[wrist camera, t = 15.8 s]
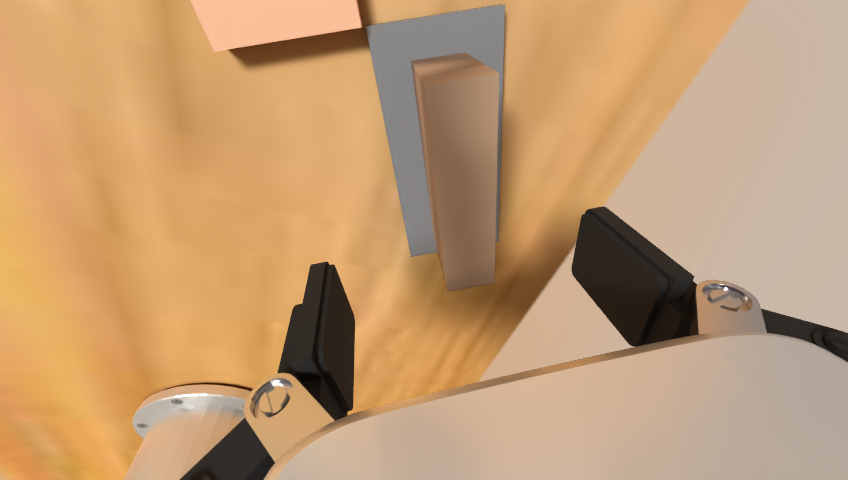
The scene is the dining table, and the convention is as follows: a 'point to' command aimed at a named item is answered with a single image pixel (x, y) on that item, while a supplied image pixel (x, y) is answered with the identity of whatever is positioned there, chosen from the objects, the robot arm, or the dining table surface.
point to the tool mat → (394, 77)
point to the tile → (272, 20)
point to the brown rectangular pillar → (460, 162)
